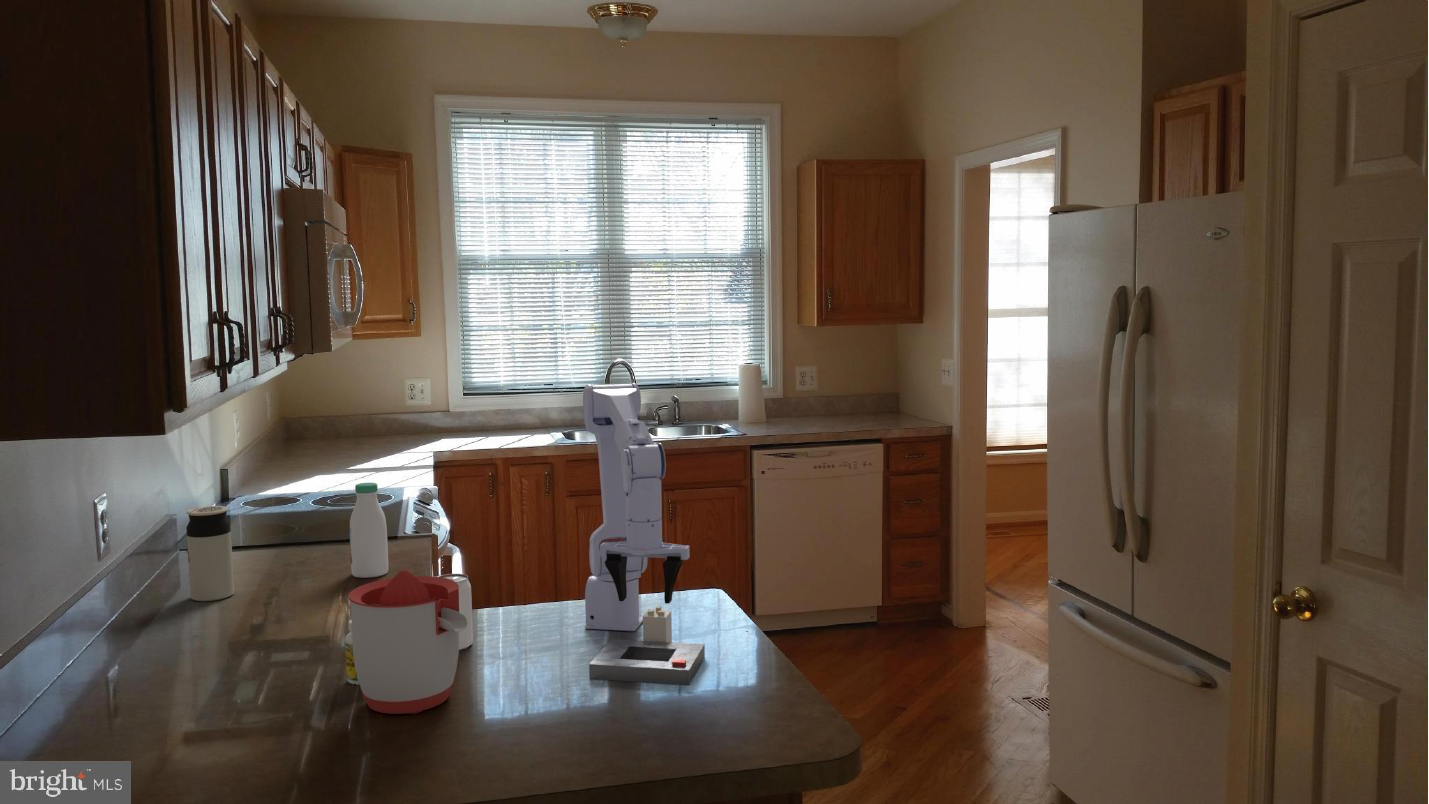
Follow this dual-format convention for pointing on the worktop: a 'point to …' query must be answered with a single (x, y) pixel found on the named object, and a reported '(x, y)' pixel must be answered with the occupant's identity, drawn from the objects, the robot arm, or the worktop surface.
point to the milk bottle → (368, 534)
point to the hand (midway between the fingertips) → (645, 600)
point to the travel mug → (209, 554)
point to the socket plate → (647, 662)
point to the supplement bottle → (350, 658)
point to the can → (464, 607)
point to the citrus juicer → (406, 641)
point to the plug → (657, 625)
